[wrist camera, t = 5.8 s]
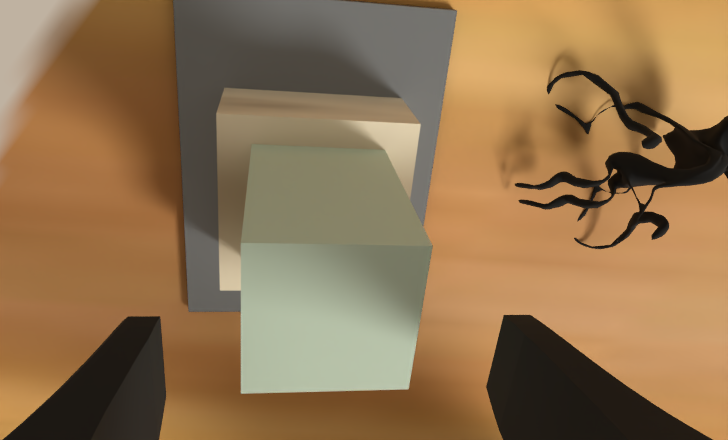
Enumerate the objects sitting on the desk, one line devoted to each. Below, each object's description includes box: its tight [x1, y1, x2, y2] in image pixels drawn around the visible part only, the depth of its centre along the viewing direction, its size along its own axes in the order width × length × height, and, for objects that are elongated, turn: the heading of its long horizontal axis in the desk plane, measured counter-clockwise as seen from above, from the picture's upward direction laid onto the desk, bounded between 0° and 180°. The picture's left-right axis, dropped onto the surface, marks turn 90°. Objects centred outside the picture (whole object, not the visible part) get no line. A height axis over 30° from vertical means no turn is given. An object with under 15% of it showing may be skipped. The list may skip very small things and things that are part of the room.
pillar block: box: [241, 144, 433, 394], centre depth 15 cm, size 4×4×6 cm
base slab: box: [216, 88, 421, 291], centre depth 19 cm, size 6×6×3 cm
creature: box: [515, 70, 728, 249], centre depth 20 cm, size 8×5×8 cm
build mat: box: [173, 0, 457, 312], centre depth 21 cm, size 12×9×1 cm
